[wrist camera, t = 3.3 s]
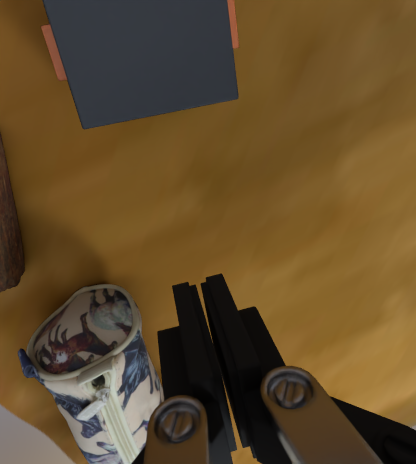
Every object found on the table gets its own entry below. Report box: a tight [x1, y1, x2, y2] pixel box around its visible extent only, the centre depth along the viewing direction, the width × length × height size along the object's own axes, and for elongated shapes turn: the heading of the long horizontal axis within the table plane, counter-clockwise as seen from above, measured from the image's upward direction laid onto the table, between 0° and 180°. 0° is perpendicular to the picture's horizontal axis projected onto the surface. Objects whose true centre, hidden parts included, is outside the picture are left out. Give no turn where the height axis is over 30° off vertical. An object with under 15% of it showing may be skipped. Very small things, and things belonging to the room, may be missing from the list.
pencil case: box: [18, 284, 164, 464], centre depth 30 cm, size 22×8×10 cm, turn 11°
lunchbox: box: [41, 0, 239, 129], centre depth 20 cm, size 9×7×7 cm
